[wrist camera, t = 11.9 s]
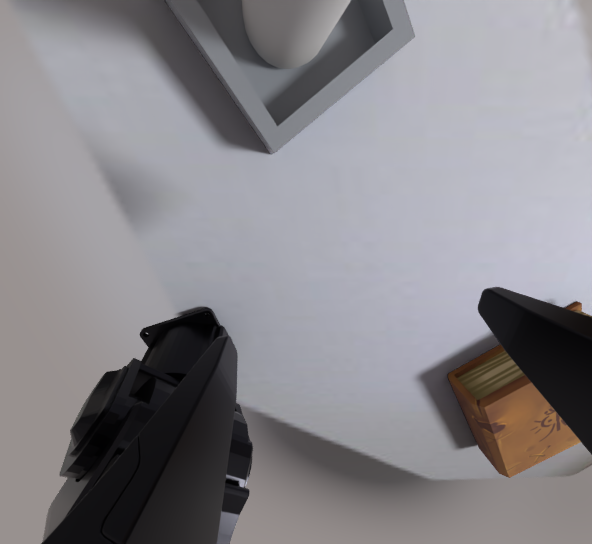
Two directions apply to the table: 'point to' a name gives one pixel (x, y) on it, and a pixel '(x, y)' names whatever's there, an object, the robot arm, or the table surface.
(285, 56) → the beverage can
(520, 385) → the diary
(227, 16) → the tray
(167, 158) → the table surface
